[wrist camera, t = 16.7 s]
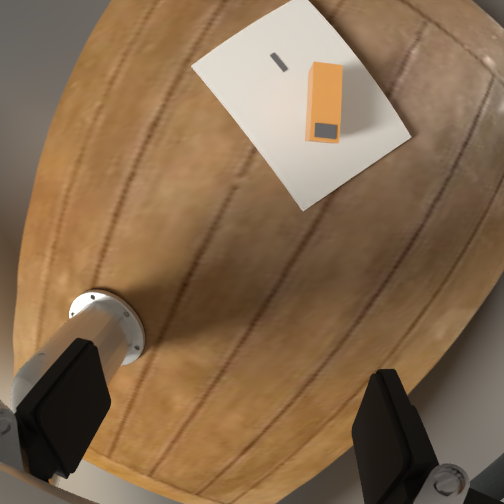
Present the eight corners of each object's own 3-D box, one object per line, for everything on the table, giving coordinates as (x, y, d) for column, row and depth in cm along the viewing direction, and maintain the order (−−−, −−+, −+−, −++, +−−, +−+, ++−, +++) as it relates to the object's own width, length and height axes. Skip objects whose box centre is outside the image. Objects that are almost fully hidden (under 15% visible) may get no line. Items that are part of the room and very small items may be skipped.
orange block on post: (308, 72, 27) (313, 60, 23) (333, 75, 27) (343, 64, 23) (304, 141, 30) (310, 140, 25) (330, 143, 30) (339, 143, 25)
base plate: (301, 208, 36) (304, 215, 32) (195, 70, 32) (186, 61, 28) (404, 137, 32) (418, 137, 29) (301, 1, 28) (303, -13, 24)
